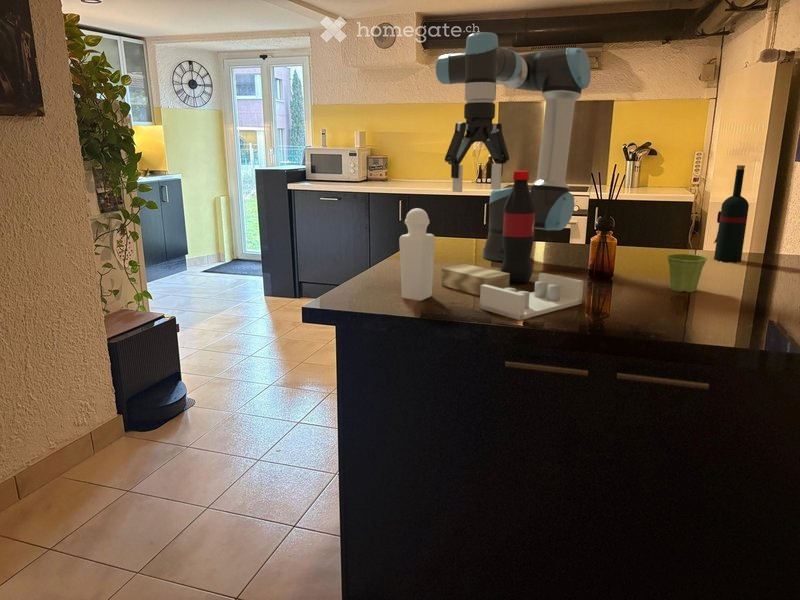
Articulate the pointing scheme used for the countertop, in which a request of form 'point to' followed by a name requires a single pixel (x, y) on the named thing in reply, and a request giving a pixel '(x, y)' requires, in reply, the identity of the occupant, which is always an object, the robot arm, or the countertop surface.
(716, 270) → the countertop surface
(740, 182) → the wine bottle
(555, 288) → the cradle
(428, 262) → the white square bottle
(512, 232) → the cola bottle
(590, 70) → the robot arm
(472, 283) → the wooden block
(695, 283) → the plant pot
